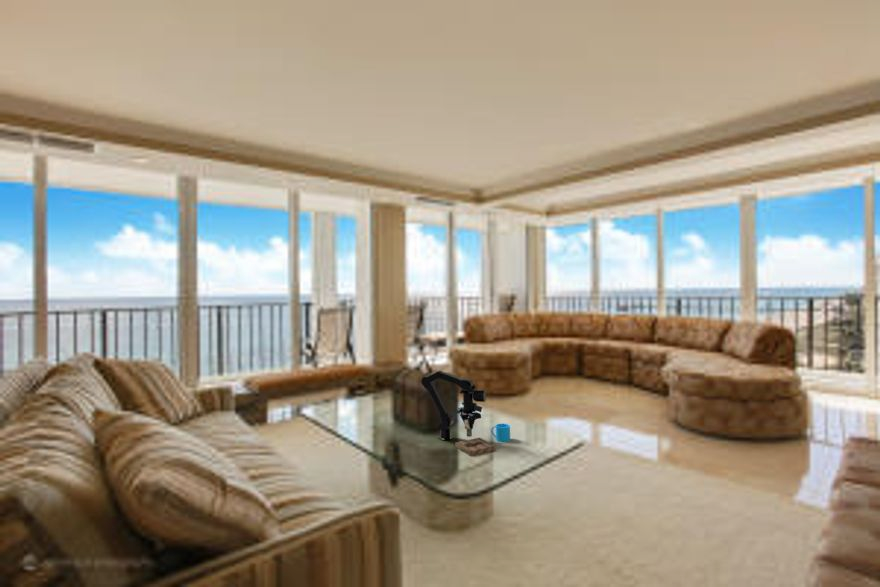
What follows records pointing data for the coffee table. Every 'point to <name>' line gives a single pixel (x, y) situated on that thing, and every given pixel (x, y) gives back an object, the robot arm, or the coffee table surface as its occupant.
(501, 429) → the mug
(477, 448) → the keyhole board
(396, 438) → the coffee table surface
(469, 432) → the peg
